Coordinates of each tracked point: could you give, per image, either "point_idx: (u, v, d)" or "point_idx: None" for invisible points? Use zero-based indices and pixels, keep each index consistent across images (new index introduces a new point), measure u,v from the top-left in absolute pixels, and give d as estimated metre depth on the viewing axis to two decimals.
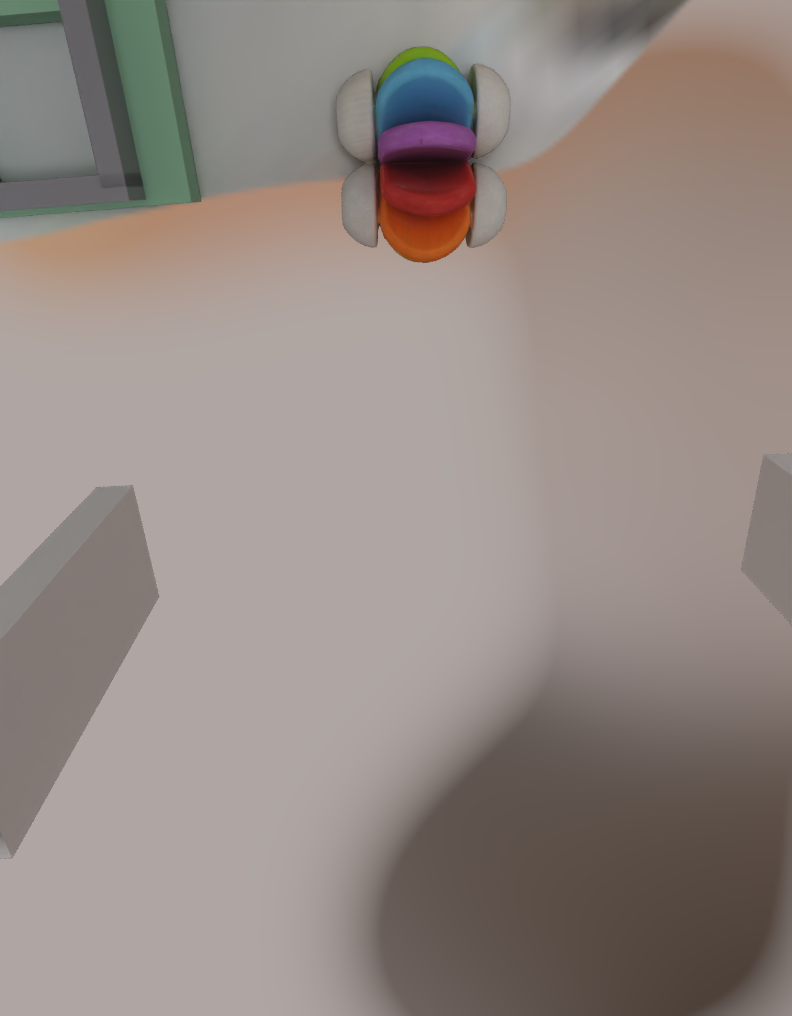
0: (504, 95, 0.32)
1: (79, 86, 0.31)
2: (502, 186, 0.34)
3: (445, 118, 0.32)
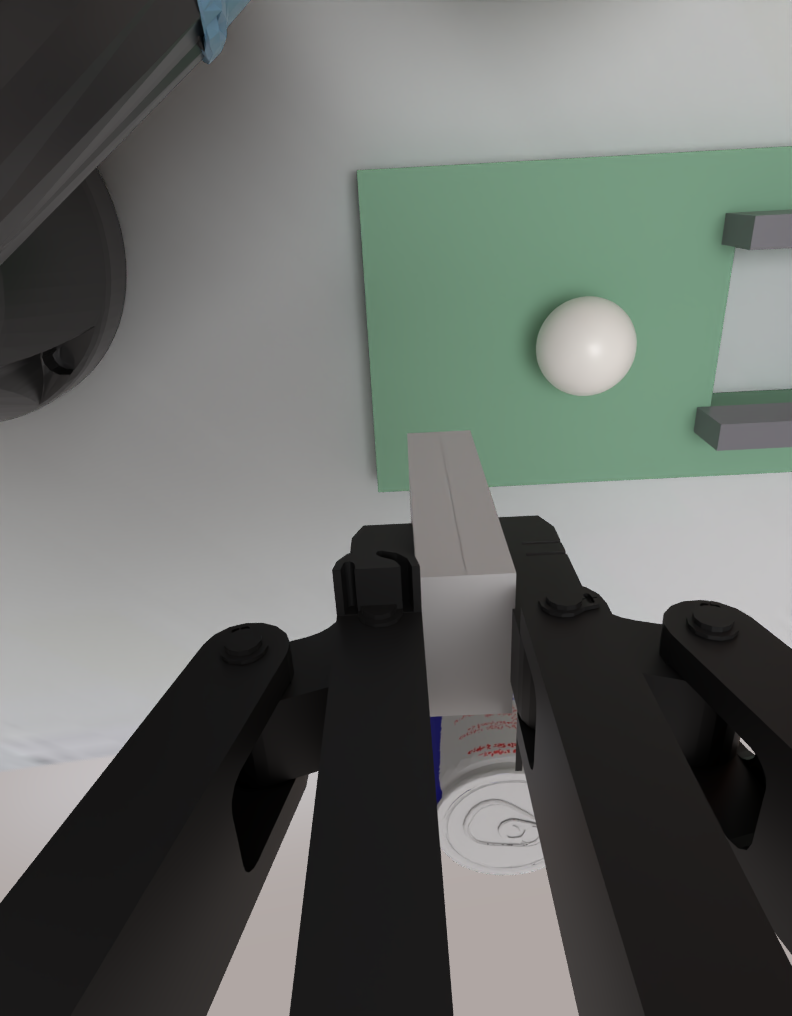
0: None
1: None
2: None
3: None
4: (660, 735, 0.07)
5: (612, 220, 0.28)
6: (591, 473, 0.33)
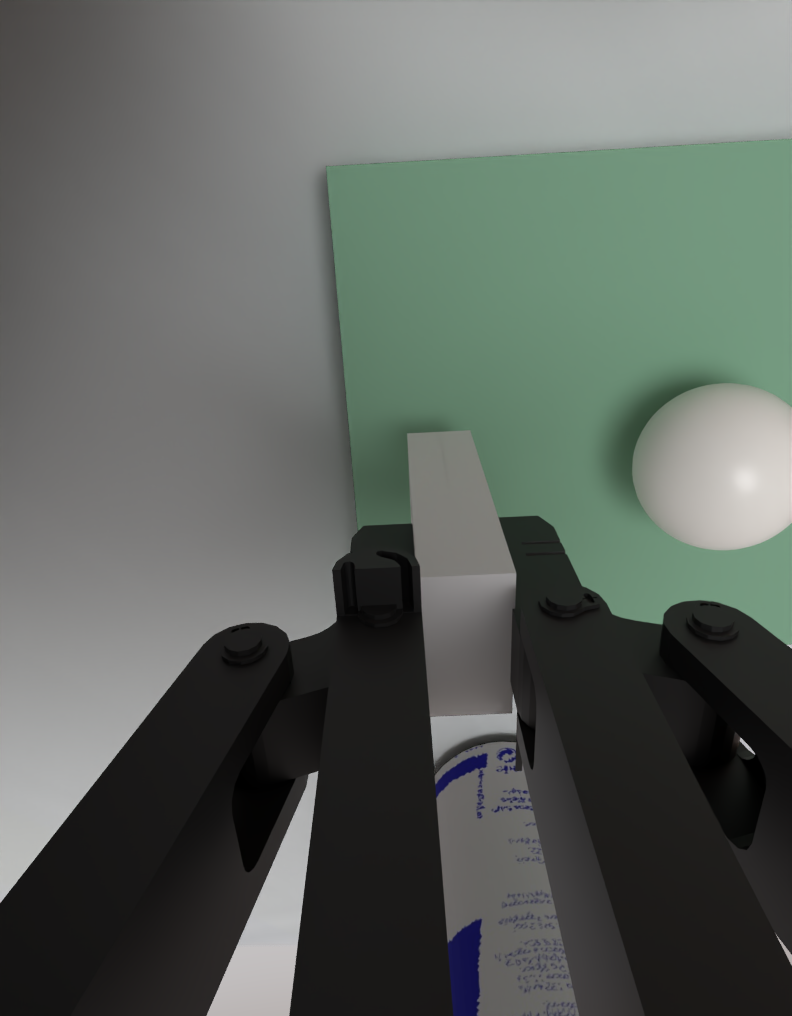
0: None
1: None
2: None
3: None
4: (660, 735, 0.07)
5: (767, 251, 0.16)
6: None
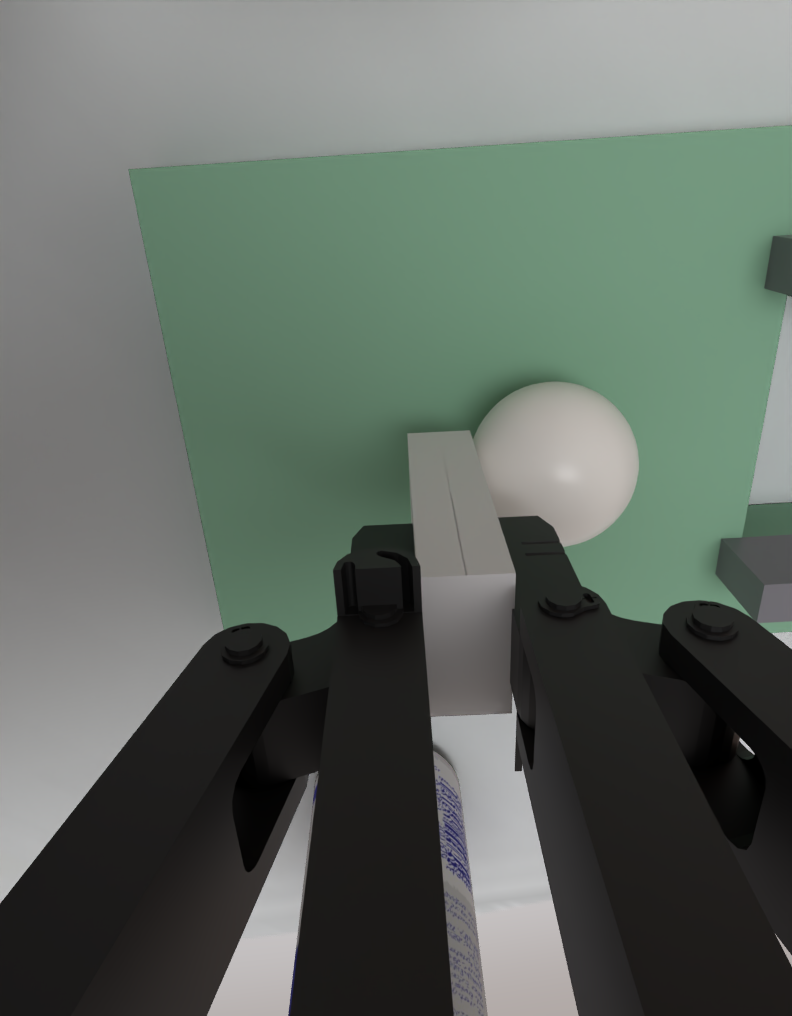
0: None
1: None
2: None
3: None
4: (660, 735, 0.07)
5: (578, 250, 0.16)
6: None
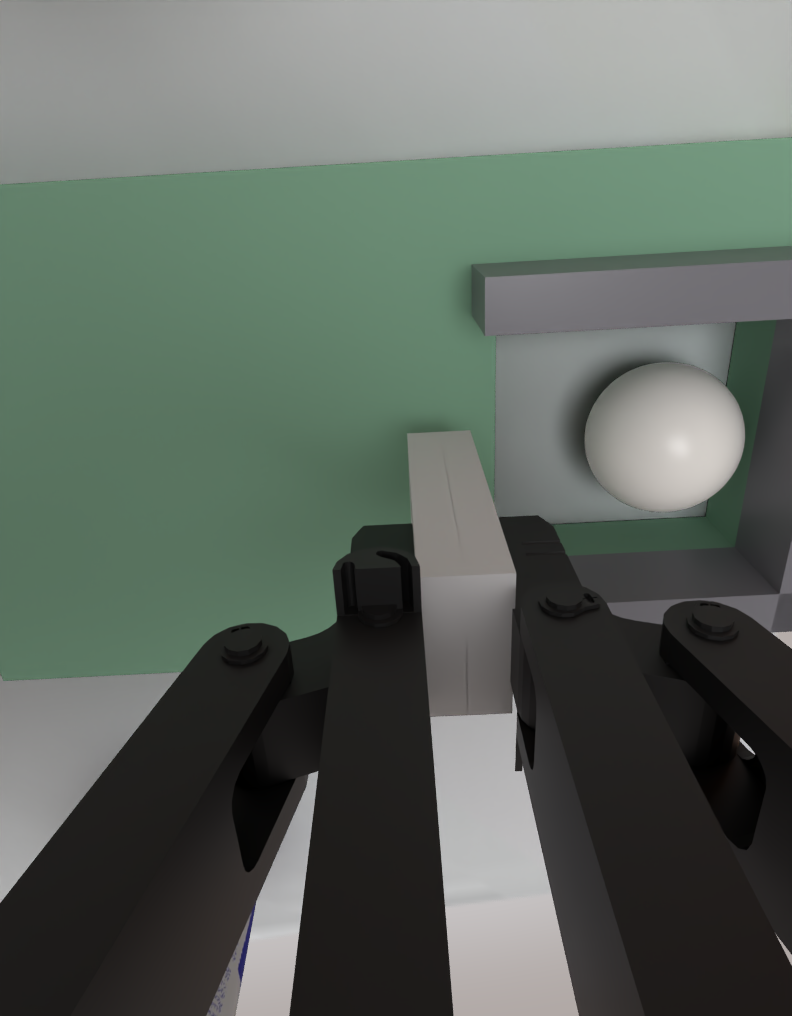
0: None
1: (672, 321, 0.14)
2: None
3: None
4: (660, 735, 0.07)
5: (279, 277, 0.16)
6: None
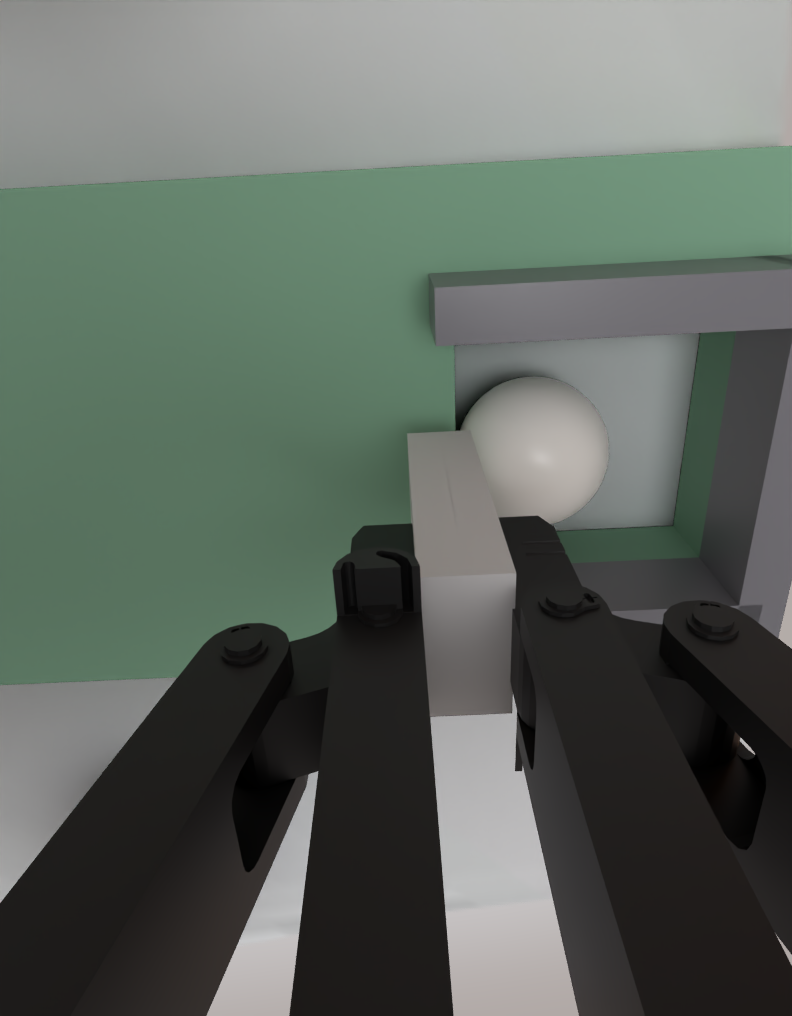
0: None
1: (624, 332, 0.14)
2: None
3: None
4: (660, 735, 0.07)
5: (236, 285, 0.16)
6: None
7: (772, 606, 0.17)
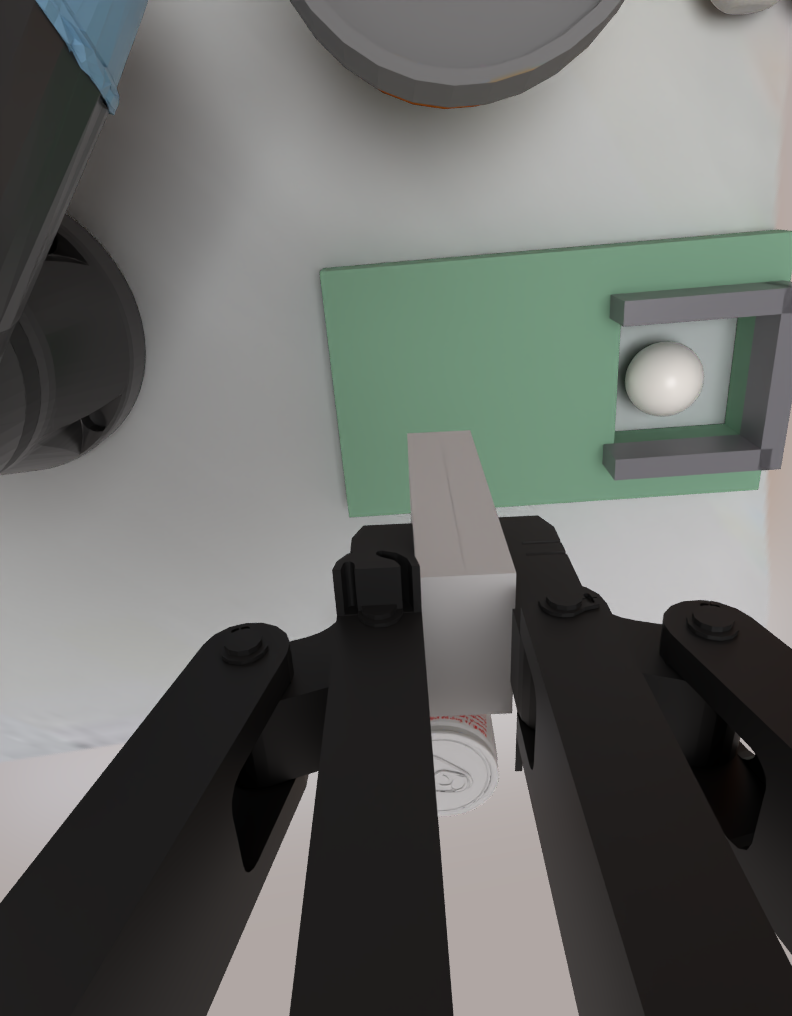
0: None
1: (706, 318, 0.33)
2: None
3: None
4: (660, 735, 0.07)
5: (521, 302, 0.35)
6: (521, 499, 0.40)
7: (777, 449, 0.36)
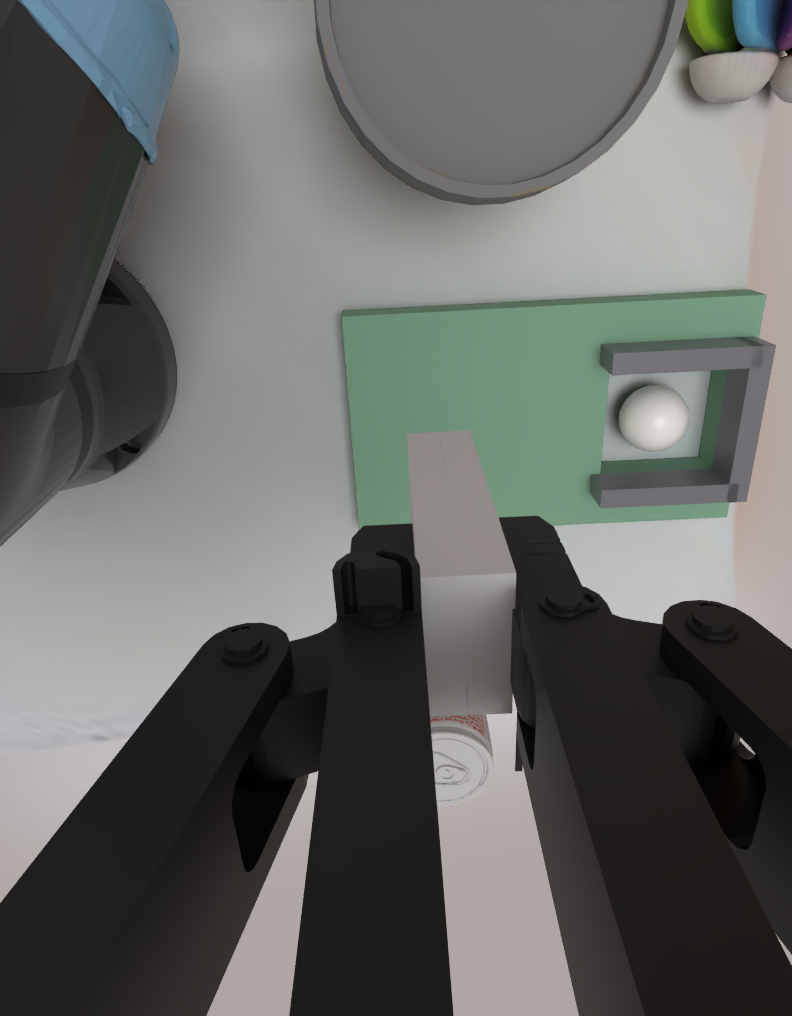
0: None
1: (684, 370, 0.38)
2: None
3: None
4: (660, 735, 0.07)
5: (521, 348, 0.39)
6: None
7: (743, 484, 0.41)
